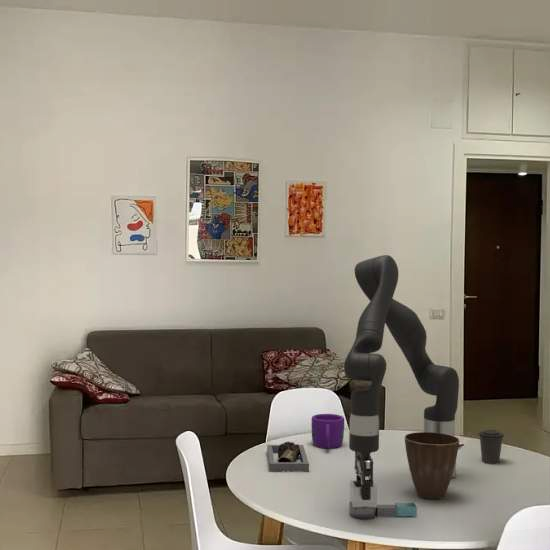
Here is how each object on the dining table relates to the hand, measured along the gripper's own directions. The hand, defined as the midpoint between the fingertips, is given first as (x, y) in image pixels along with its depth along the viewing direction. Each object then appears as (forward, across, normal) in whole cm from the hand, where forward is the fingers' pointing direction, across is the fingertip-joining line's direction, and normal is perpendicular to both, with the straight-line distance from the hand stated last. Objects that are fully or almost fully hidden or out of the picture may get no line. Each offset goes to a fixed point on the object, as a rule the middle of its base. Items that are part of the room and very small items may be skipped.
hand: (363, 494), depth 195 cm
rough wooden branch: (+6, +49, +16) cm, 52 cm away
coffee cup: (+5, +50, -50) cm, 71 cm away
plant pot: (+5, +16, -22) cm, 27 cm away
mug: (+6, +68, +2) cm, 68 cm away
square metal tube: (+2, 0, 0) cm, 2 cm away
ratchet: (+5, 0, -5) cm, 7 cm away
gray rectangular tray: (+5, +50, +16) cm, 53 cm away
